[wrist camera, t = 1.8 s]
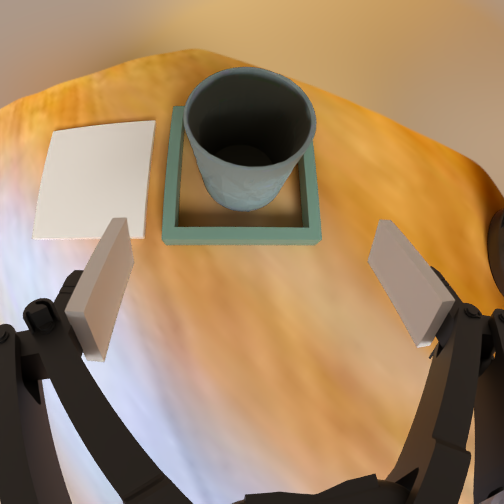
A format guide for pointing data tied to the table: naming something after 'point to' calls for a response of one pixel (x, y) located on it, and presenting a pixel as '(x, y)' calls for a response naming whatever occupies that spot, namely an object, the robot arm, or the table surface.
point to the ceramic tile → (95, 181)
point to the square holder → (236, 234)
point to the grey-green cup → (247, 134)
